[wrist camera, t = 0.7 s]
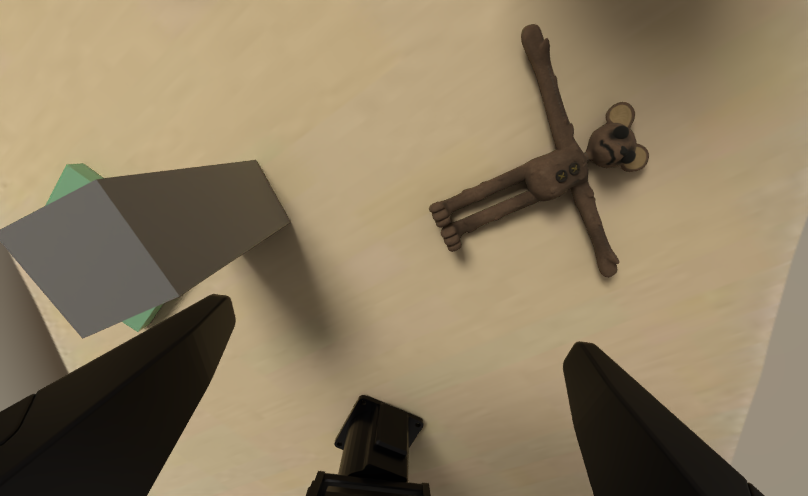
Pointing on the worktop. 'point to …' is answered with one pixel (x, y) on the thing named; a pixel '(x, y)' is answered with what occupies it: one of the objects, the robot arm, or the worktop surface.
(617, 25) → the worktop surface
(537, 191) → the brown clay figure
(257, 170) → the grey rectangular block
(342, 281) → the worktop surface
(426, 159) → the worktop surface
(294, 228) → the worktop surface
